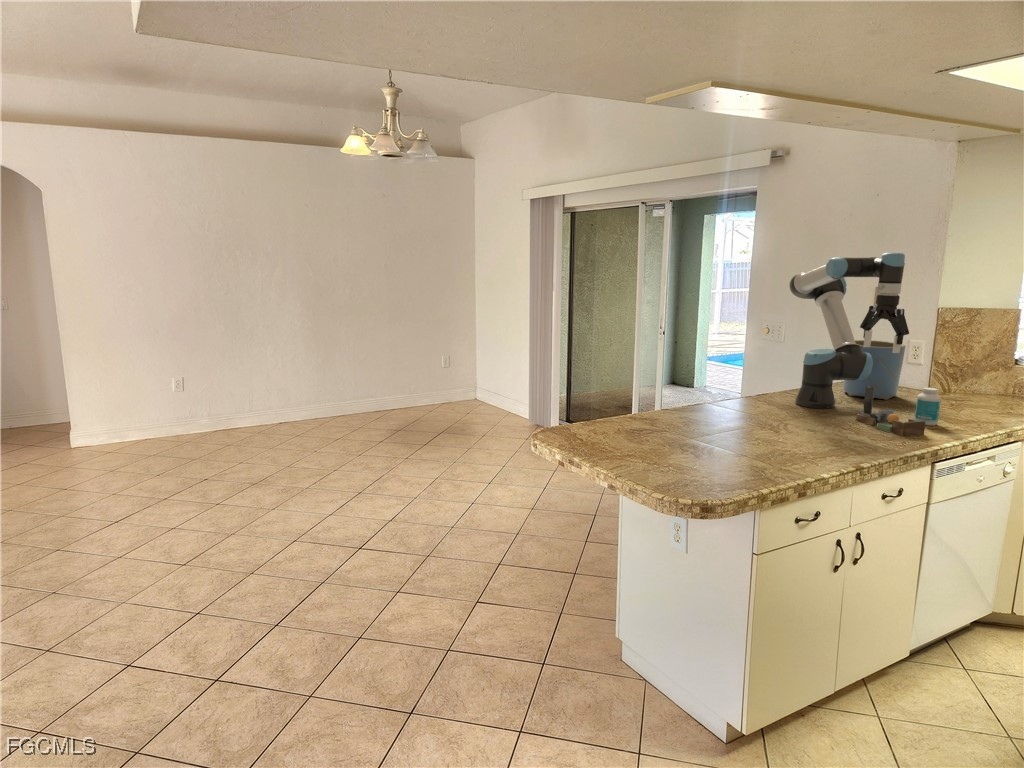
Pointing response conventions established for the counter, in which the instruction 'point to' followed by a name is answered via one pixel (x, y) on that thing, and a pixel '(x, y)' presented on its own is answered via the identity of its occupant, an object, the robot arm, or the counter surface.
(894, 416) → the ball
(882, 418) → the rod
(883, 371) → the planter
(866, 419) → the guide
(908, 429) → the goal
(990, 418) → the counter surface
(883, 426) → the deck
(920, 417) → the pill bottle
